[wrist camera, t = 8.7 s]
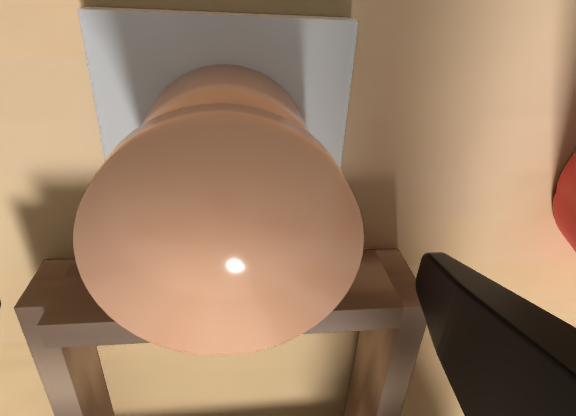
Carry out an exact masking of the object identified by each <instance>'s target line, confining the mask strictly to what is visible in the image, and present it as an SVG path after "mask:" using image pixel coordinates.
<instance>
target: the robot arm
mask: <svg viewBox="0 0 576 416" xmlns="http://www.w3.org/2000/svg"><path fill="white" fill-rule="evenodd" d="M415 287H416V293H417V296H418V299H419V302H420V305H421V308H422V311H423V314H424V317H425V320H426V323H427V326H428V330H429V333H430V336H431V339H432V342H433V345H434V347H435V350H436V353H437V355H438V357H439V360H440V362H441V364H442V367H443V369H444V371H445V373H446V375H447V378H448V380H449V382H450V384H451V386H452V389H453V391H454V393H455V395H456V397H457V400H458V402H459V404H460V406H461V409H462V411H463V413H464V415H465V416H576V328H575V327H573V326H572V325H570V324H568V323H566V322H565V321H563V320H561V319H559V318H558V317H556V316H554V315H552V314H550V313H549V312H547V311H545V310H543V309H542V308H540V307H538V306H536V305H535V304H533V303H531V302H529V301H528V300H526V299H524V298H522V297H521V296H519V295H517V294H515V293H514V292H512V291H510V290H508V289H507V288H505V287H503V286H501V285H499V284H498V283H496V282H494V281H492V280H491V279H489V278H487V277H485V276H484V275H482V274H480V273H478V272H477V271H475V270H473V269H471V268H470V267H468V266H466V265H464V264H463V263H461V262H459V261H457V260H456V259H454V258H452V257H450V256H449V255H447V254H445V253H442V252H431V253H425V254H424V255H423V256H422V259H421V263H420V266H419V270H418V274H417V278H416V283H415ZM0 306H1V301H0Z"/></svg>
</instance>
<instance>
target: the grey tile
mask: <svg viewBox="0 0 576 416" xmlns="http://www.w3.org/2000/svg"><path fill="white" fill-rule="evenodd" d="M77 10H78V15H79V20H80V26H81V31H82V37H83V42H84V47H85V53H86V58H87V63H88V69H89V74H90V79H91V85H92V90H93V96H94V101H95V106H96V112H97V117H98V122H99V128H100V133H101V139H102V144H103V149H104V155H105V160H106V158H107V157H108V156H109V154H110V153H111V152H112V151H113V149H114V148H115V147H116V146H117V145H118V144H119V143H120V142H121V141H122V140H123V139H124V138H125V137H126V136H127V135H129V134H130V133H131V132H132V131H134V130H135V129H137V128H138V127H140V126H141V125H142V124H143V122H144V120H145V119H146V117H147V115H148V113H149V112H150V110H151V108H152V106H153V105H154V103H155V101H156V100H157V98H158V96H159V95H160V94H161V93H162V92H163V90H164V89H165V88H166V87H167V86H168V85H169V84H171V83H172V82H173V81H174V80H176V79H177V78H179V77H180V76H181V75H183V74H185V73H187V72H189V71H192V70H194V69H197V68H200V67H204V66H210V65H218V64H229V65H238V66H243V67H247V68H250V69H253V70H256V71H258V72H260V73H262V74H264V75H266V76H268V77H270V78H271V79H272V80H274V81H275V82H277V83H278V84H279V85H280V86H281V87H282V88H283V89H284V90H285V91H286V92H287V93H288V94H289V95H290V97H291V98H292V99H293V101H294V102H295V104H296V106H297V107H298V109H299V111H300V113H301V115H302V118H303V120H304V122H305V124H306V126H307V128H308V130H309V132H310V134H312V135H313V136H314V137H315V138H316V139H317V140H318V141H319V142H320V143H321V144H322V145H323V146H324V147H325V148H326V149H327V151H328V152H329V153H330V154H331V155H332V157H333V158H334V160H335V161H336V163H337V165H338V166H339V168H340V170H341V162H342V153H343V145H344V137H345V129H346V121H347V113H348V104H349V96H350V88H351V80H352V72H353V64H354V55H355V47H356V39H357V31H358V23H359V21H358V20H356V19H353V18H347V17H323V16H299V15H276V14H252V13H228V12H205V11H181V10H157V9H134V8H110V7H83V8H80V9H77Z"/></svg>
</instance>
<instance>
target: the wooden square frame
mask: <svg viewBox="0 0 576 416" xmlns="http://www.w3.org/2000/svg"><path fill="white" fill-rule="evenodd" d="M415 283H416V278H415V277H414V275H413V273H412V272H411V270H410V268H409V267H408V265H407V263H406V261H405V260H404V258H403V256H402V255H401V253H400V251H399V250H398V249H384V250H363V255H362V259H361V263H360V267H359V270H358V272H357V274H356V277H355V279H354V282H353V283H352V285H351V287H350V289H349V290H348V292H347V294H346V295H345V296H344V298H343V299H342V300H341V302H340V303H339V304H338V305H337V307H336V308H335V309H334V310H333V311H332V312H331V313H330V314H329V315H328V316H327V317H325V318H324V319H323V320H322V321H320V322H319V323H318V324H317V325H316V326H314V327H312V328H311V329H309V330H308V331H306V332H305V333H303V334H312V333H330V332H347V331H359V336H358V342H357V347H356V352H355V358H354V363H353V368H352V374H351V379H350V384H349V390H348V395H347V400H346V406H345V411H344V416H399V415H400V412H401V408H402V405H403V402H404V398H405V395H406V392H407V388H408V385H409V381H410V378H411V375H412V371H413V368H414V365H415V361H416V358H417V354H418V351H419V348H420V344H421V341H422V338H423V334H424V331H425V328H426V324H427V323H426V320H425V317H424V314H423V311H422V308H421V305H420V302H419V299H418V296H417V293H416V287H415ZM14 310H15V312H16V315H17V317H18V320H19V323H20V325H21V328H22V331H23V333H24V336H25V339H26V341H27V344H28V346H29V349H30V352H31V354H32V357H33V360H34V362H35V365H36V368H37V370H38V373H39V375H40V378H41V381H42V383H43V386H44V389H45V391H46V394H47V397H48V399H49V402H50V404H51V407H52V410H53V412H54V415H55V416H114V413H113V409H112V406H111V402H110V398H109V394H108V390H107V387H106V383H105V379H104V375H103V371H102V367H101V364H100V360H99V356H98V352H97V348H96V346H98V345H116V344H134V343H151V342H148V341H146V340H144V339H142V338H140V337H138V336H136V335H134V334H133V333H131V332H130V331H128V330H127V329H125V328H123V327H122V326H121V325H119V324H118V323H117V322H116V321H114V320H113V319H112V318H111V317H109V316H108V315H107V314H106V313H105V311H104V310H103V309H102V308H101V307H100V306H99V305H98V304H97V303H96V301H95V300H94V299H93V297H92V296H91V294H90V293H89V292H88V290H87V288H86V286H85V284H84V282H83V280H82V278H81V276H80V273H79V270H78V267H77V264H76V260H75V259H60V260H44V261H43V263H42V265H41V266H40V268H39V269H38V271H37V272H36V274H35V276H34V277H33V279H32V280H31V282H30V283H29V285H28V286H27V288H26V290H25V291H24V293H23V294H22V296H21V297H20V299H19V300H18V302H17V304H16V305H15V307H14Z"/></svg>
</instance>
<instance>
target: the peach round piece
mask: <svg viewBox="0 0 576 416" xmlns="http://www.w3.org/2000/svg"><path fill="white" fill-rule="evenodd" d="M363 245H364V230H363V222H362V217H361V213H360V209H359V206H358V204H357V201H356V199H355V196H354V194H353V192H352V190H351V188H350V186H349V184H348V183H347V181H346V179H345V177H344V175H343V173H342V171H341V170H340V168H339V166H338V165H337V163H336V161H335V160H334V158H333V157H332V155H331V154H330V153H329V152H328V151H327V149H326V148H325V147H324V146H323V145H322V144H321V143H320V142H319V141H318V140H317V139H316V138H315V137H314V136H313V135H312V134H310V132H309V130H308V128H307V126H306V124H305V122H304V120H303V118H302V115H301V113H300V111H299V109H298V107H297V106H296V104H295V102H294V101H293V99H292V98H291V97H290V95H289V94H288V93H287V92H286V91H285V90H284V89H283V88H282V87H281V86H280V85H279V84H278V83H277V82H275V81H274V80H272V79H271V78H270V77H268V76H266V75H264V74H262V73H260V72H258V71H256V70H253V69H250V68H247V67H243V66H238V65H229V64H218V65H210V66H204V67H200V68H197V69H194V70H192V71H189V72H187V73H185V74H183V75H181V76H180V77H179V78H177V79H176V80H174V81H173V82H172V83H171V84H169V85H168V86H167V87H166V88H165V89H164V90H163V92H162V93H161V94H160V95H159V96H158V98H157V100H156V101H155V103H154V105H153V106H152V108H151V110H150V112H149V113H148V115H147V117H146V119H145V120H144V122H143V124H142V125H141V126H140V127H138V128H137V129H135V130H134V131H132V132H131V133H130V134H129V135H127V136H126V137H125V138H124V139H123V140H122V141H121V142H120V143H119V144H118V145H117V146H116V147H115V148H114V149H113V151H112V152H111V153H110V154H109V156H108V157H107V158H106V160H105V161H104V163H103V164H102V166H101V167H100V169H99V170H98V172H97V173H96V175H95V176H94V178H93V179H92V181H91V183H90V184H89V186H88V188H87V190H86V191H85V193H84V195H83V197H82V199H81V202H80V204H79V207H78V210H77V213H76V217H75V223H74V229H73V249H74V255H75V260H76V264H77V267H78V270H79V273H80V276H81V278H82V280H83V282H84V284H85V286H86V288H87V290H88V292H89V293H90V294H91V296H92V297H93V299H94V300H95V301H96V303H97V304H98V305H99V306H100V307H101V308H102V309H103V310H104V311H105V313H106V314H107V315H108V316H109V317H111V318H112V319H113V320H114V321H116V322H117V323H118V324H119V325H121V326H122V327H123V328H125V329H127V330H128V331H130V332H131V333H133V334H134V335H136V336H138V337H140V338H142V339H144V340H146V341H148V342H151V343H153V344H156V345H159V346H162V347H164V348H168V349H172V350H175V351H179V352H184V353H190V354H196V355H209V356H227V355H238V354H246V353H251V352H256V351H261V350H264V349H268V348H271V347H275V346H277V345H280V344H282V343H285V342H287V341H290V340H292V339H294V338H295V337H297V336H299V335H301V334H303V333H305V332H306V331H308V330H309V329H311V328H312V327H314V326H316V325H317V324H318V323H319V322H320V321H322V320H323V319H324V318H325V317H327V316H328V315H329V314H330V313H331V312H332V311H333V310H334V309H335V308H336V307H337V305H338V304H339V303H340V302H341V300H342V299H343V298H344V296H345V295H346V294H347V292H348V290H349V289H350V287H351V285H352V283H353V282H354V279H355V277H356V274H357V272H358V270H359V267H360V263H361V259H362V255H363Z"/></svg>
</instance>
